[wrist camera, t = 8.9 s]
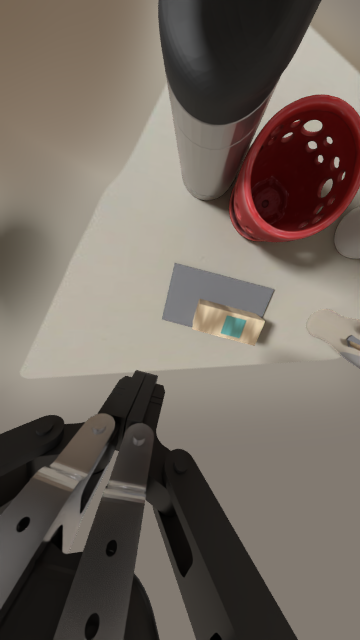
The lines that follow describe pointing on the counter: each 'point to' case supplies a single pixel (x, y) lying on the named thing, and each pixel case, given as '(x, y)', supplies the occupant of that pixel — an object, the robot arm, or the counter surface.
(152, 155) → the counter surface
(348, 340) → the beer glass
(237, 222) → the plant pot
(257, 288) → the rubber mat
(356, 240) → the mug
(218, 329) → the maple block
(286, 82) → the counter surface
